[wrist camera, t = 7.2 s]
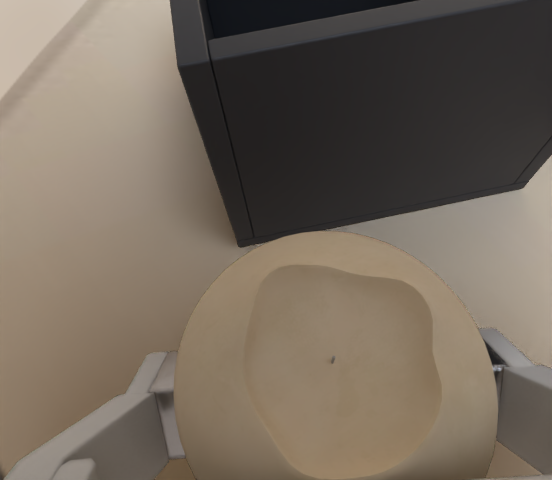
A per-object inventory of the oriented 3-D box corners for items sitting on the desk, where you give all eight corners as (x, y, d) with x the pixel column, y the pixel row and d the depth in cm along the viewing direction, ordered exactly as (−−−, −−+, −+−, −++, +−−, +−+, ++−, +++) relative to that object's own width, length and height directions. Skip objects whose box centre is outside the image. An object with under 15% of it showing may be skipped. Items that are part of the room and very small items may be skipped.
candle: (217, 381, 15) (88, 294, 6) (334, 307, 16) (372, 141, 7) (293, 533, 12) (266, 760, 4) (424, 434, 14) (652, 424, 5)
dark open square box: (238, 247, 17) (176, 66, 9) (206, 57, 24) (151, -154, 15) (523, 188, 18) (719, -38, 9) (416, 17, 24) (477, -210, 16)
